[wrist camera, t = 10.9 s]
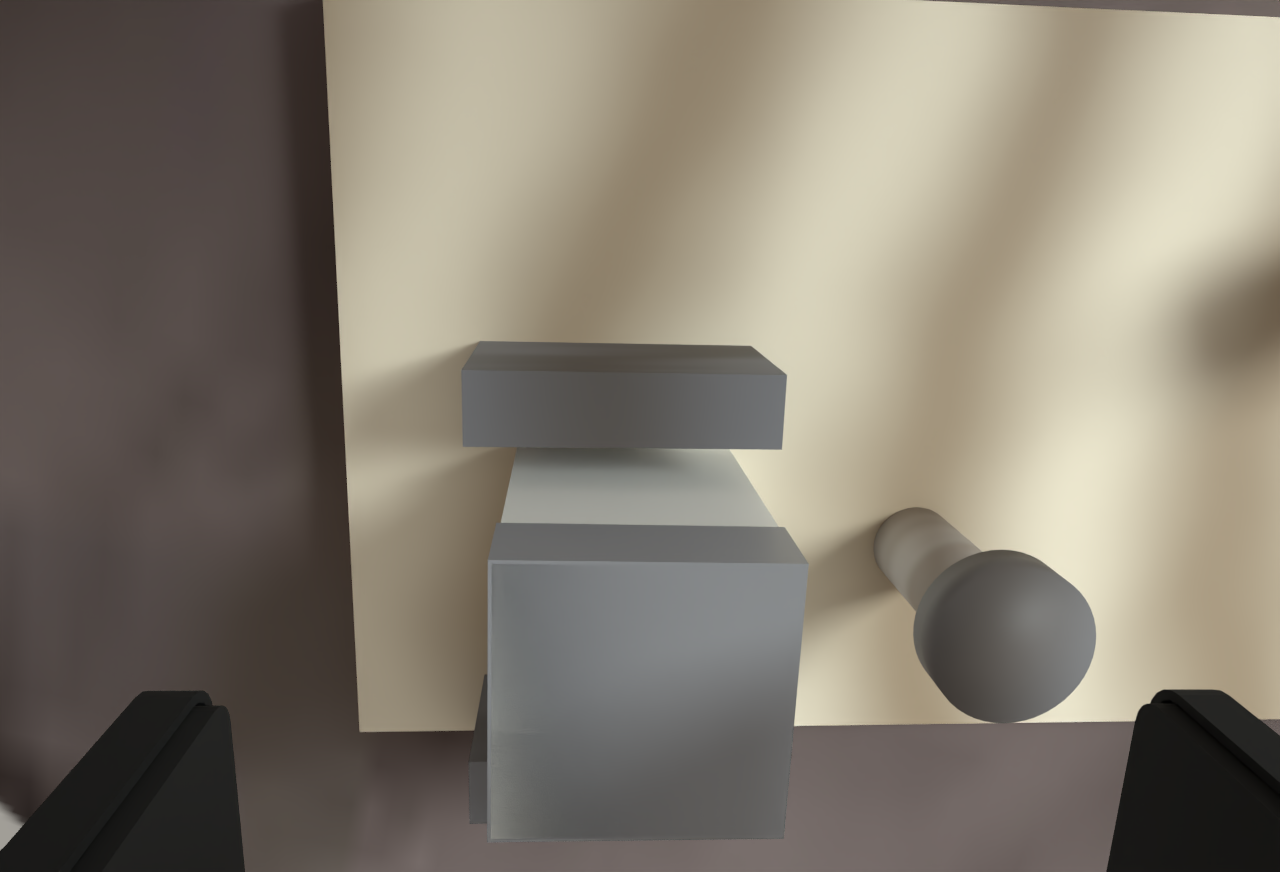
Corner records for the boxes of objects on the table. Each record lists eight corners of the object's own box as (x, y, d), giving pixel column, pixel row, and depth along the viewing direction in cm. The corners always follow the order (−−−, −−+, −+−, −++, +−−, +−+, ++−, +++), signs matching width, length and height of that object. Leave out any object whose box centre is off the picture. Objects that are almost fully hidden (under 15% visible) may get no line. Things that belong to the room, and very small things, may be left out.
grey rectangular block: (731, 444, 18) (809, 563, 12) (717, 641, 19) (783, 839, 13) (515, 440, 17) (487, 559, 12) (513, 640, 18) (487, 842, 13)
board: (1586, 45, 18) (2012, -20, 13) (1420, 688, 22) (1702, 851, 16) (339, -12, 16) (226, -115, 11) (371, 701, 20) (297, 888, 14)
